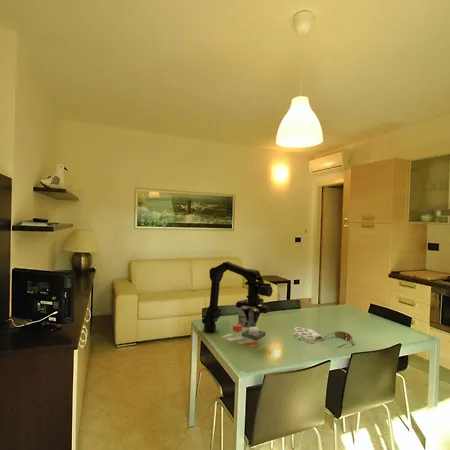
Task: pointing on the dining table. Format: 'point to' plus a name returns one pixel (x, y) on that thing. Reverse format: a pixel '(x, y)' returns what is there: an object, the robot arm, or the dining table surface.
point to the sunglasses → (342, 336)
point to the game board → (241, 340)
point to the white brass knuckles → (307, 335)
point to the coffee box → (243, 317)
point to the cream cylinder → (254, 330)
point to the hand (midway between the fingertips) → (252, 322)
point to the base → (255, 337)
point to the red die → (237, 327)
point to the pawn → (251, 319)
